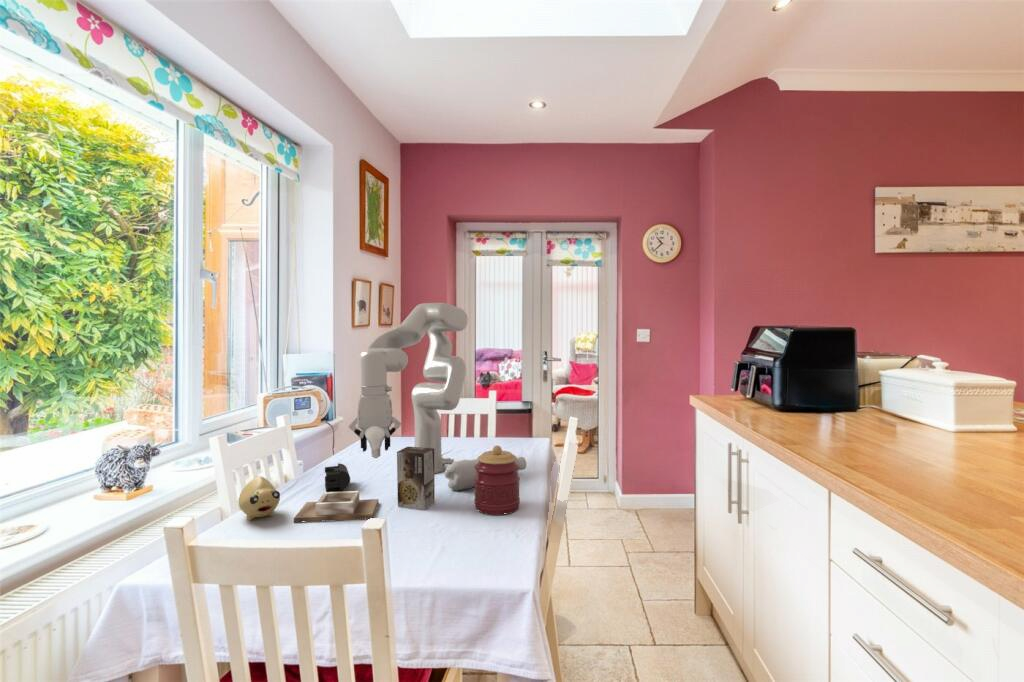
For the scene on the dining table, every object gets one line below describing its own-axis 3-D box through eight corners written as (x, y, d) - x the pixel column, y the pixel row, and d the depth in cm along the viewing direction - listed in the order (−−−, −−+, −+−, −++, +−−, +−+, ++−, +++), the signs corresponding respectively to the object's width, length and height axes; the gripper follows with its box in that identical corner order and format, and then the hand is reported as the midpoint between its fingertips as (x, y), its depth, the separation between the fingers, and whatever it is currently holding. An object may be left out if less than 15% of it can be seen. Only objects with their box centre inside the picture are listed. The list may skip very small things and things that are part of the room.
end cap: (350, 491, 153) (350, 470, 153) (326, 494, 150) (326, 472, 150) (347, 482, 162) (347, 462, 162) (324, 485, 159) (324, 464, 159)
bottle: (462, 485, 148) (534, 470, 167) (453, 457, 151) (525, 446, 171) (448, 496, 153) (519, 480, 173) (440, 468, 157) (510, 456, 177)
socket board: (378, 503, 142) (378, 488, 142) (372, 518, 130) (372, 503, 130) (306, 506, 139) (306, 491, 139) (293, 522, 127) (293, 506, 127)
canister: (485, 519, 130) (485, 453, 129) (467, 504, 141) (467, 443, 141) (528, 510, 136) (528, 448, 135) (507, 496, 147) (507, 439, 147)
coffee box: (435, 503, 142) (435, 448, 142) (424, 510, 136) (424, 453, 136) (408, 499, 145) (408, 445, 145) (396, 506, 139) (396, 450, 139)
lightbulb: (367, 455, 151) (366, 420, 151) (388, 454, 152) (387, 419, 151) (363, 461, 145) (362, 424, 144) (384, 460, 145) (384, 424, 145)
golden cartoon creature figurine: (245, 529, 123) (244, 487, 123) (235, 515, 132) (235, 476, 132) (286, 519, 130) (286, 479, 129) (274, 507, 139) (274, 470, 139)
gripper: (404, 388, 152) (405, 445, 153) (347, 390, 150) (349, 448, 151) (402, 392, 145) (403, 451, 145) (342, 393, 142) (343, 454, 143)
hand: (375, 449), depth 148 cm, fingers closed on lightbulb, 5 cm apart
